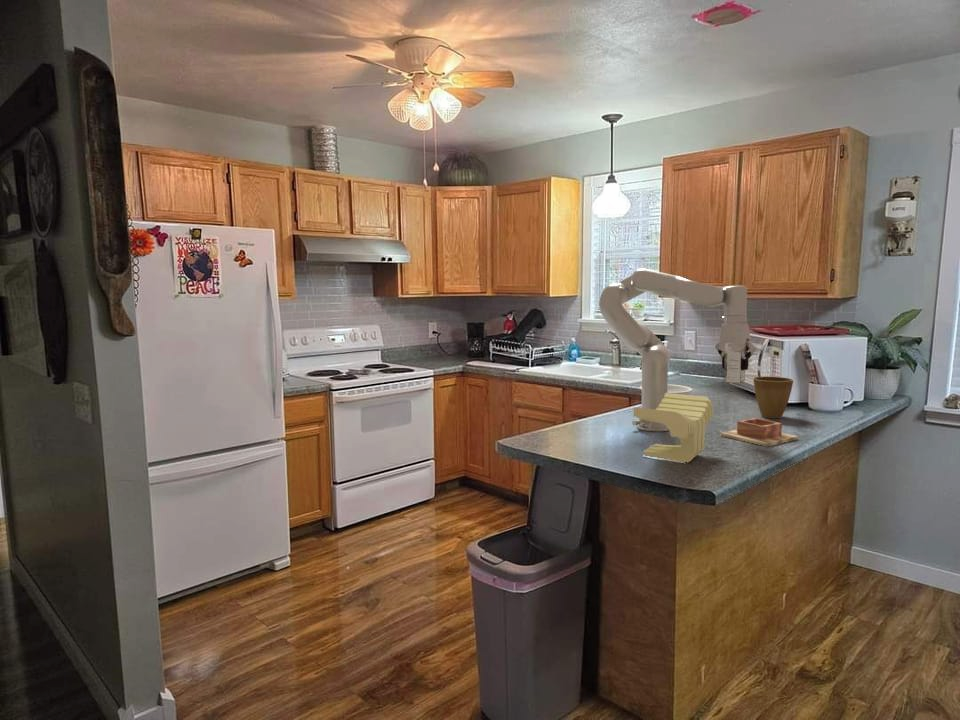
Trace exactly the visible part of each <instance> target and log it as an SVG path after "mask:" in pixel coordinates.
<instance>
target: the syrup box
mask: <svg viewBox="0 0 960 720" xmlns="http://www.w3.org/2000/svg"><path fill="white" fill-rule="evenodd" d="M741 359H743V358H742V356H741V352H734V351H731V343H725V367H724V368H723V370H724V373H723V374H724V375H723V377H724V378H723V381H724V383H738V384H741V383H743V382H745V380H746V370H741Z"/></svg>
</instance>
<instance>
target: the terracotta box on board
mask: <svg viewBox="0 0 960 720" xmlns="http://www.w3.org/2000/svg"><path fill="white" fill-rule="evenodd" d="M736 423H737V425H736V427H737V428H736V429H735V430H734V429H733V430H728V431H724V432H720V436H721V437H723V438H728V439H731V438H732V440H735V439H736V440H735V441H740V442H744V441H745V442H744V443H748V442H749V444H752V443H754V444H753V445H756V444H757V446H760V445H762V446H761V447H765V446H766V447H765V448H768V447H773V446H777V445H781V444H785V443H789V441H790V442H793V440H794V441H798V440H799V437H798V435H793V434H788V433H783V432H782V430H783V423H782V422H778V421H773V420H768V419H762V418H757V417H753V418H748V419H743V420H738V421H737V422H736ZM797 439H798V440H797ZM784 442H785V443H784ZM780 443H781V444H780ZM772 445H773V446H772ZM767 446H768V447H767Z"/></svg>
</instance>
